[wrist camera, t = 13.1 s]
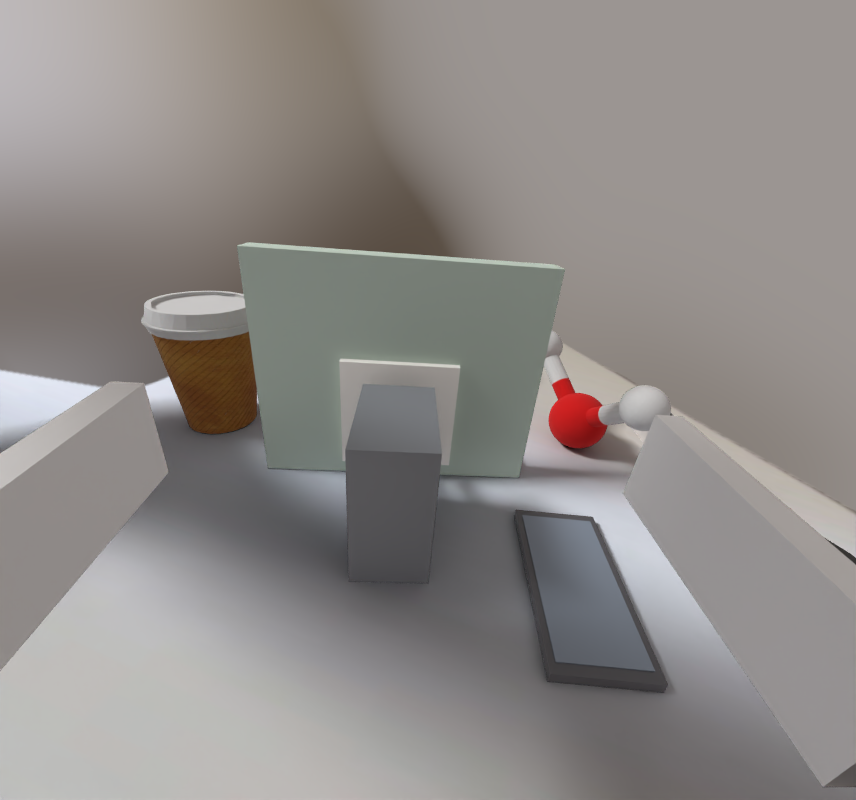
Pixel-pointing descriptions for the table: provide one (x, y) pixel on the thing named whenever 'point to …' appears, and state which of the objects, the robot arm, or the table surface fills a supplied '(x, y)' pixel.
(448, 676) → the table surface
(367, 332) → the board
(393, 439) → the plug
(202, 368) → the disposable coffee cup
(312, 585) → the table surface
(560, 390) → the molecular model
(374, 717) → the table surface
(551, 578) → the phone slab
